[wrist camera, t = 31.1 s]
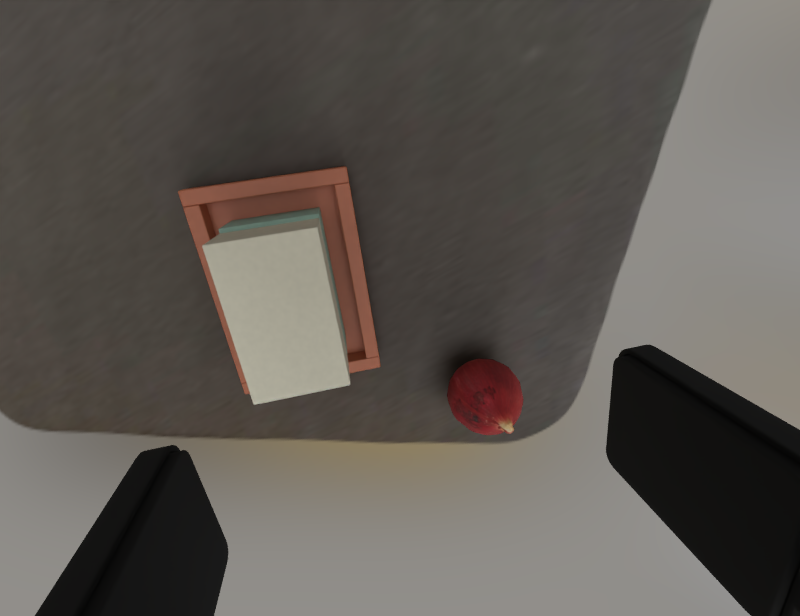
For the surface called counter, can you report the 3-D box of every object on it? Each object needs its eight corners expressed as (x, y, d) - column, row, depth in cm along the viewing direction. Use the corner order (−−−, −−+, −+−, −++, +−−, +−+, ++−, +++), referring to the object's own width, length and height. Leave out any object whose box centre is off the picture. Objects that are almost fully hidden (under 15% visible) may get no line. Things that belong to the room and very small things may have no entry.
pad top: (218, 233, 23) (201, 245, 20) (319, 217, 24) (317, 226, 21) (262, 376, 27) (253, 405, 24) (348, 359, 28) (350, 385, 25)
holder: (188, 188, 26) (177, 190, 24) (345, 165, 27) (346, 166, 25) (249, 380, 32) (244, 394, 30) (377, 355, 33) (381, 367, 31)
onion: (434, 401, 35) (462, 464, 28) (441, 343, 33) (473, 395, 26) (494, 399, 36) (537, 460, 29) (505, 342, 34) (553, 393, 27)
